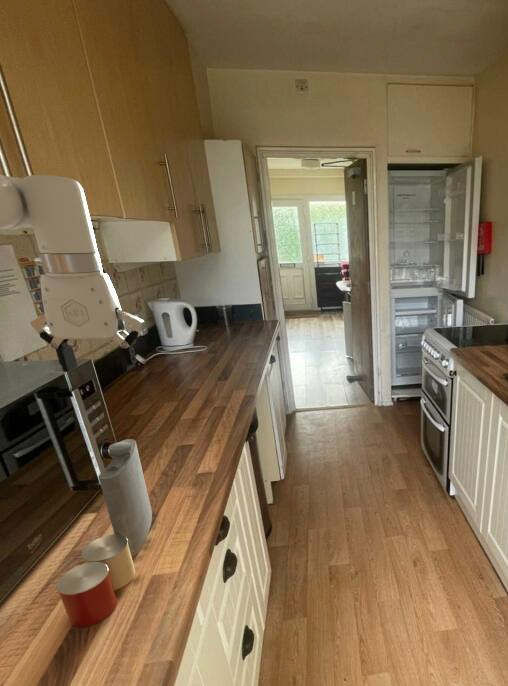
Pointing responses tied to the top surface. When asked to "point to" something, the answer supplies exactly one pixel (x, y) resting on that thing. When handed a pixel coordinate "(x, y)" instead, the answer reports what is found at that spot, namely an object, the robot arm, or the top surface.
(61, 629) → the top surface
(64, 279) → the robot arm
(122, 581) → the can cream
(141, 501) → the hip flask
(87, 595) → the can red
